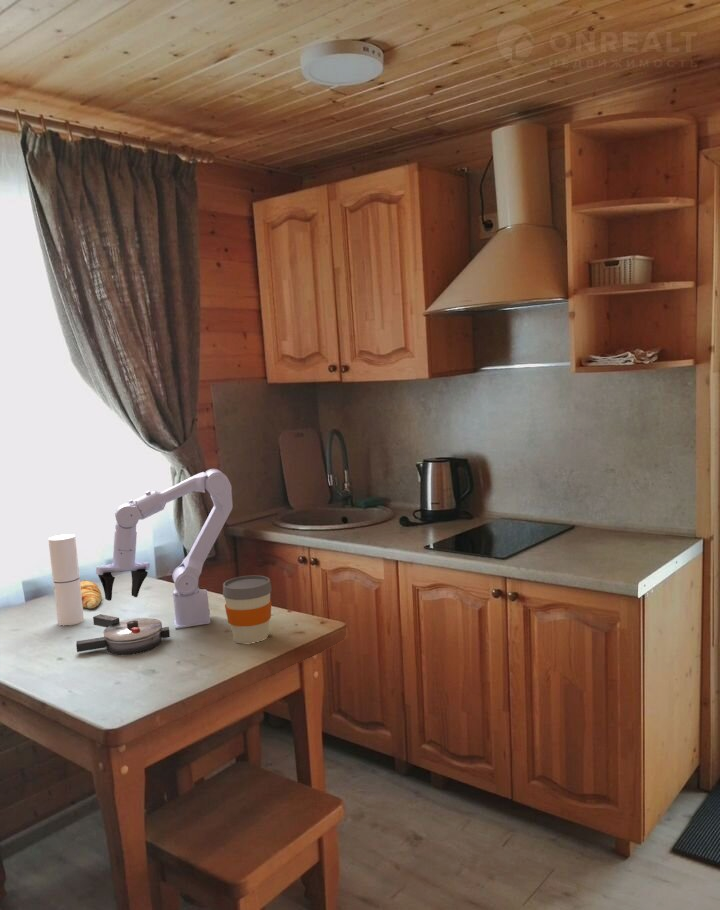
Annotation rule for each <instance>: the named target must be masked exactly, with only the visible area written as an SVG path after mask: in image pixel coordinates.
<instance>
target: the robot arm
mask: <svg viewBox="0 0 720 910" xmlns="http://www.w3.org/2000/svg"><path fill="white" fill-rule="evenodd" d="M205 490H206V491H207V492H208V493H209V495H210V499H211V501H212V503H213V507H212V508H211V510H210V513H209V514H208V516H207V518H206V519H205V522H204V523H203V526H202V527H201V529H200V531H199V533H198V535H197V536H196V538H195V541H194V542H193V544H192V547H191V548H190V551H189V552H188V554H187V555H186V556H185V557H184V558H183V560H182V562H181V563H180V565H178V566H177V567H176V568H174V570H173V572H172V575H171V576H172V577H171V578H172V581H173V583H174V587H175V588H174V590H172V594H173V595H172V598H173V606H174V607H173V608H174V616H175V617H174V618H173V624H174V627H175V629H176V630H177V629H183V628H184V629H185V628H189V627H197V626H202V625H209V624H211V617H210V615H211V613H210V612H211V611H210V605H209V596H208V590H207V589H205V588H204V589H200V587H199V578H200V576H201V574H202V571H203V568H204V567H203V566H204V563H205V561H206V559H207V558H208V556H209V554H210V551H211V550H212V548H213V546H214V544H215V543H216V541H217V539H218V537H219V535H220V533H221V531H222V529H223V527H224V525H225V523H226V521H227V520H228V518H229V515H230V514H231V512H232V511H233V494H232V493H233V492H232V484H231V482H230V480H229V478H228V476H227V475H226V474H225V473H223V472H222V471H221V469H220V470H219V468H218V469H217V468H210V469H208V470H206V471H205V472H204V471H202V472H199V473H196V474H194V475H192V476H190V477H188V478H187V479H185V480H183V481H180V482H178V483H177V484H174V485H173V486H171V487H169V488H167V489H165V490H163V491H161V492H159V491H157V490H153V491H150V490H147V491H145V495H142V496H141V497H139V498H136V499H134V500H133V499H130V500H129V501H128V503H123V504H121V505H119V506H118V508H117V509H116V510H115V513H114V516H115V520H116V523H115V526H114V527H115V531H114V536H113V539H114V540H113V555H112V556H113V557H112V563H109V564H104V565H99V566H98V565H97V566H96V570H95V571H96V572H95V574H97V576H98V579H99V580H100V582H101V584H102V589H103V593H104V596H105V597H104V598H105V600H107V601H109V602H110V601H112V598H113V587H114V582H115V579H116V577H115V576H113V574H114V573H115V574H116V573H124V572H127V573H128V572H130V573H131V596H132V597H134V598H138V596H139V594H140V590H141V588H142V585H143V582H144V581H145V579H146V578H147V577H148V574H149V572H148V571H149V570H150V567H151V566H150V564H151V563H150V562H148V561H136V550H137V524H138V522H139V521H140V520H145V519H147V518H149V517H151V516H153V515H155V514H158V513H160V512H161V511H163V510H165V508H166V504H168V503H169V502H172V501H174V500H176V499H178V498H182V497H183V496H185V495H188V494H190V493H193V492H197V493H206V491H205Z"/></svg>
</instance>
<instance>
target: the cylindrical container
mask: <svg viewBox="0 0 720 910" xmlns="http://www.w3.org/2000/svg"><path fill="white" fill-rule="evenodd" d="M48 547H49V548H48V549H49V556H50V557H49V558H50V564H51V565H50V566H51V576H52V584H53V593H54V601H55V602H54V603H55V610H56V611H55V612H56V619H57V620H56V621H57V625H58V624H59V625H58V626H61V625H63V626H64V625H69V626H74V625H77V624H80V623H82V622H84V620H85V617H84V608H83V605H82V596H81V587H80V582H81V579H80V569H79V562H78V561H79V559H78V551H77V543H76V535H75V534H70V533H67V534H60V535H59V534H58V535H54V536H51V537H48ZM63 626H62V627H63ZM64 627H65V626H64Z"/></svg>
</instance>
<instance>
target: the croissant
mask: <svg viewBox="0 0 720 910" xmlns="http://www.w3.org/2000/svg"><path fill="white" fill-rule="evenodd" d="M80 587H81V596H82V605H83V609H84V608H87V609H95V608H96V607H98V606H100V603H101V601H102V598H103V597H102V596H103V595H102V592H101V590H100V588H99V587H98V585H97V584H96V583H95V582H92V581H89V580H80Z"/></svg>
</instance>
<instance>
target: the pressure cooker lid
mask: <svg viewBox="0 0 720 910" xmlns="http://www.w3.org/2000/svg"><path fill="white" fill-rule="evenodd" d="M92 620H93V625H94V626H98V627H103V628H105V629H104V630H103V637H104V638H105V639H107V640H110V641H116V642H125V641H134V640H139V639H143V638H147V637H150V636H152V635H155V634H156V633H158V632H159V631H161V629H162V628H163V623H162V621H161V620H160V619H156V618H153V617H139V618H131V619H126V620H122V621H120V617H117V616H112V615H108V614H107V615H105V614H97V615H94V616H93V617H92Z"/></svg>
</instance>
